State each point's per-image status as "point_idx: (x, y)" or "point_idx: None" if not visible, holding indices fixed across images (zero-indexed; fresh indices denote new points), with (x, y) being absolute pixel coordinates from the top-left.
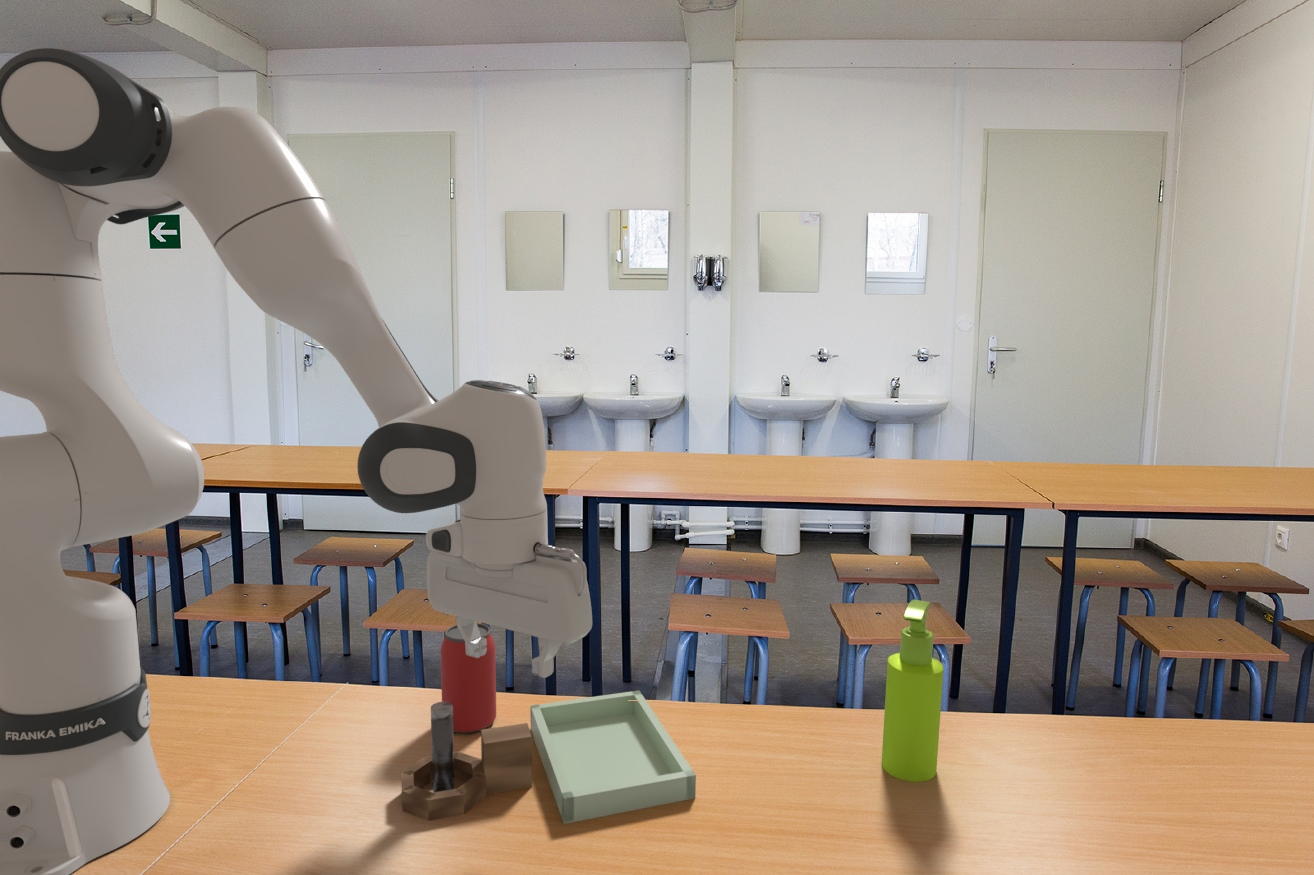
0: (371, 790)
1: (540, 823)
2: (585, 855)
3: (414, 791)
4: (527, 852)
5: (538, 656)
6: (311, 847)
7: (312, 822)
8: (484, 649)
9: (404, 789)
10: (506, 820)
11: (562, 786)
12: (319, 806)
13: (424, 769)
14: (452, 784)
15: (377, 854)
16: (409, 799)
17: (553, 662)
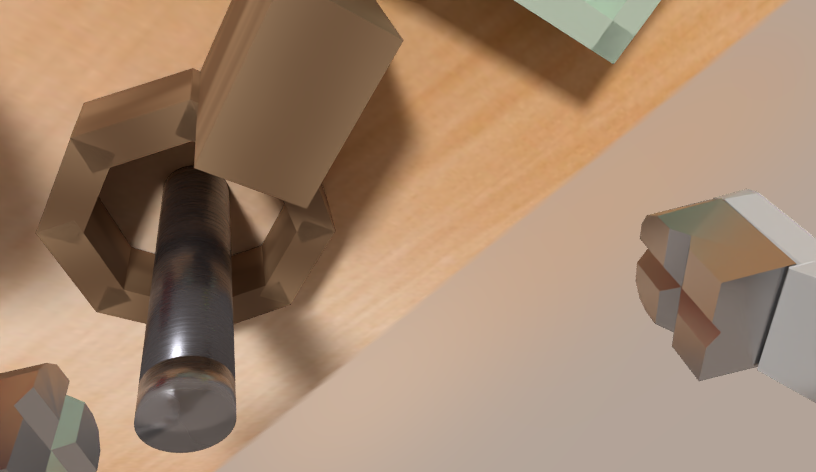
0: (35, 316)
1: (504, 65)
2: (673, 61)
3: None
4: (552, 152)
5: (719, 329)
6: None
7: (101, 427)
8: (46, 402)
9: None
10: (422, 124)
11: (571, 24)
12: None
13: (101, 245)
14: (224, 203)
15: (308, 364)
16: None
17: (799, 226)
